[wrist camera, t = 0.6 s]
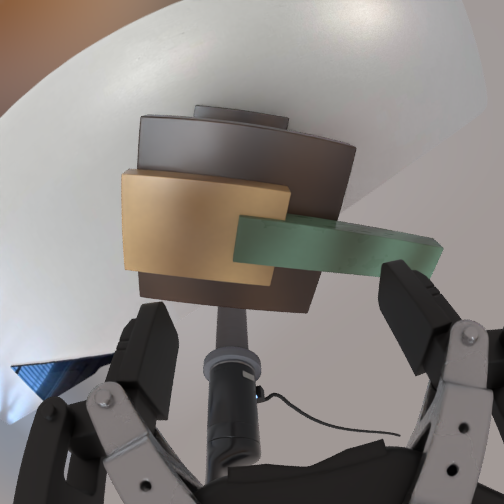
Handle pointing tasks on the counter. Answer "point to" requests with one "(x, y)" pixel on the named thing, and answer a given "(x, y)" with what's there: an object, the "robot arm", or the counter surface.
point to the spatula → (247, 232)
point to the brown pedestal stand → (253, 169)
